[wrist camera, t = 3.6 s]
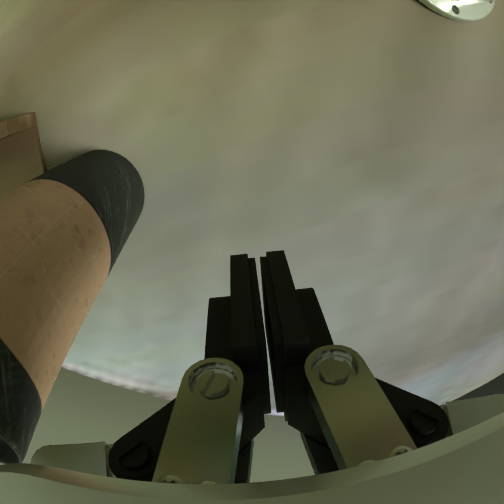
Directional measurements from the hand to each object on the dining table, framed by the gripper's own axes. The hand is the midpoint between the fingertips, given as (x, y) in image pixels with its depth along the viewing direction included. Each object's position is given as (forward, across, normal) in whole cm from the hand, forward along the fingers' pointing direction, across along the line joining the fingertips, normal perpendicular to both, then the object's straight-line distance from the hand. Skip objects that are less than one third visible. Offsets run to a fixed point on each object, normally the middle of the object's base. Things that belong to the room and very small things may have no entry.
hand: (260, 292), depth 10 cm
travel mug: (+14, +11, 0) cm, 18 cm away
